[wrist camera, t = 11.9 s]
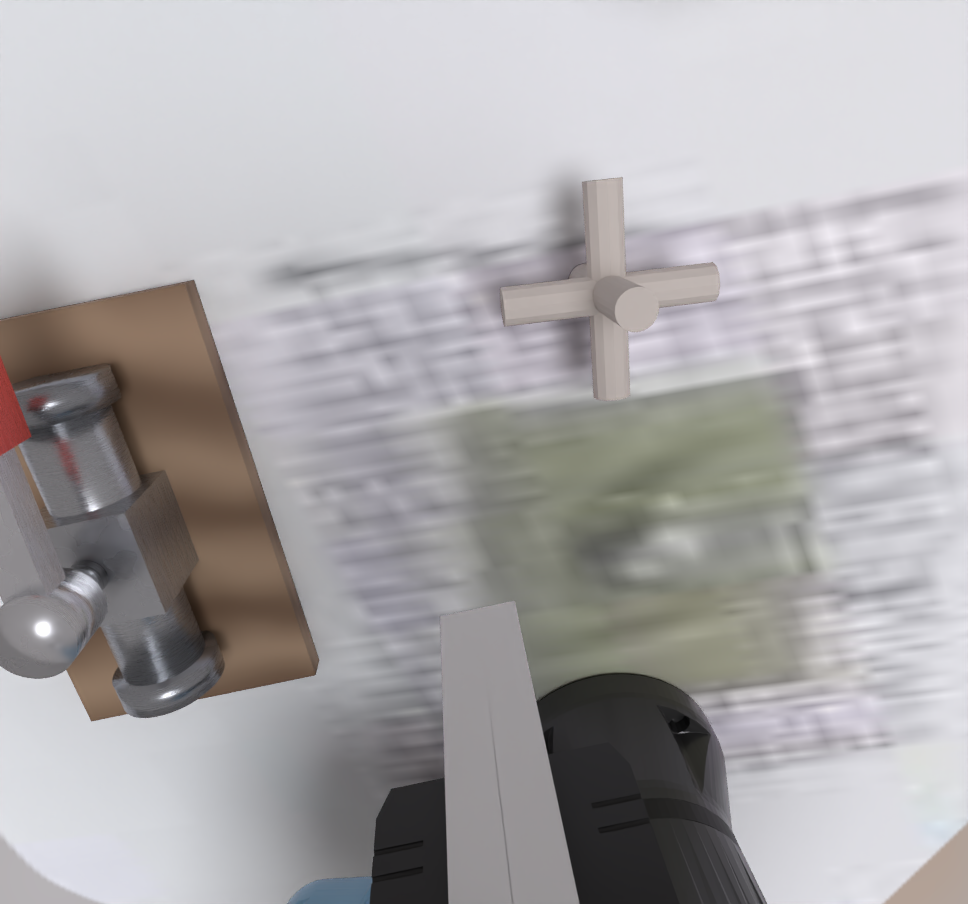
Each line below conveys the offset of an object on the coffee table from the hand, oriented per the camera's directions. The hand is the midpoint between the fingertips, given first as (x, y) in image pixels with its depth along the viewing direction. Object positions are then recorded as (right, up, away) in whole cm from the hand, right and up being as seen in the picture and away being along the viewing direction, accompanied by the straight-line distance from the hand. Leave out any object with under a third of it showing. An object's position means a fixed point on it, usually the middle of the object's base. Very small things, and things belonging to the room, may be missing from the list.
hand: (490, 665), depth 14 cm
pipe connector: (+5, +13, +24) cm, 28 cm away
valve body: (-20, +1, +26) cm, 33 cm away
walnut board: (-20, +1, +26) cm, 33 cm away
